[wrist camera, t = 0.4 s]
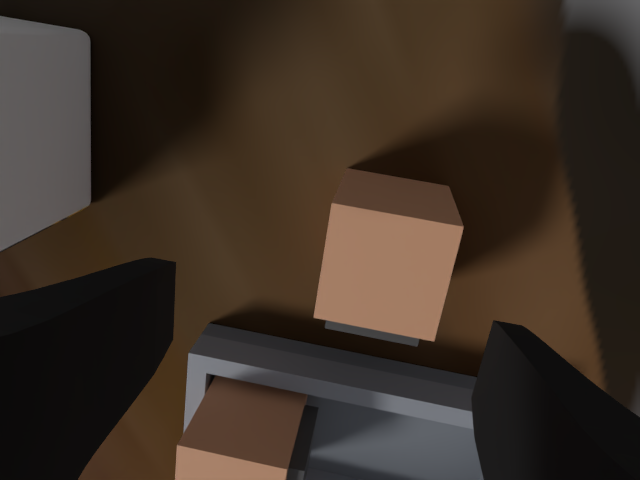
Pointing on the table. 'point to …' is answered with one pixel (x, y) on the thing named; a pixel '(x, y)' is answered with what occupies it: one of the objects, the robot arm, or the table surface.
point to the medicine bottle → (43, 126)
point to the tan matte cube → (388, 257)
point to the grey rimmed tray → (320, 414)
